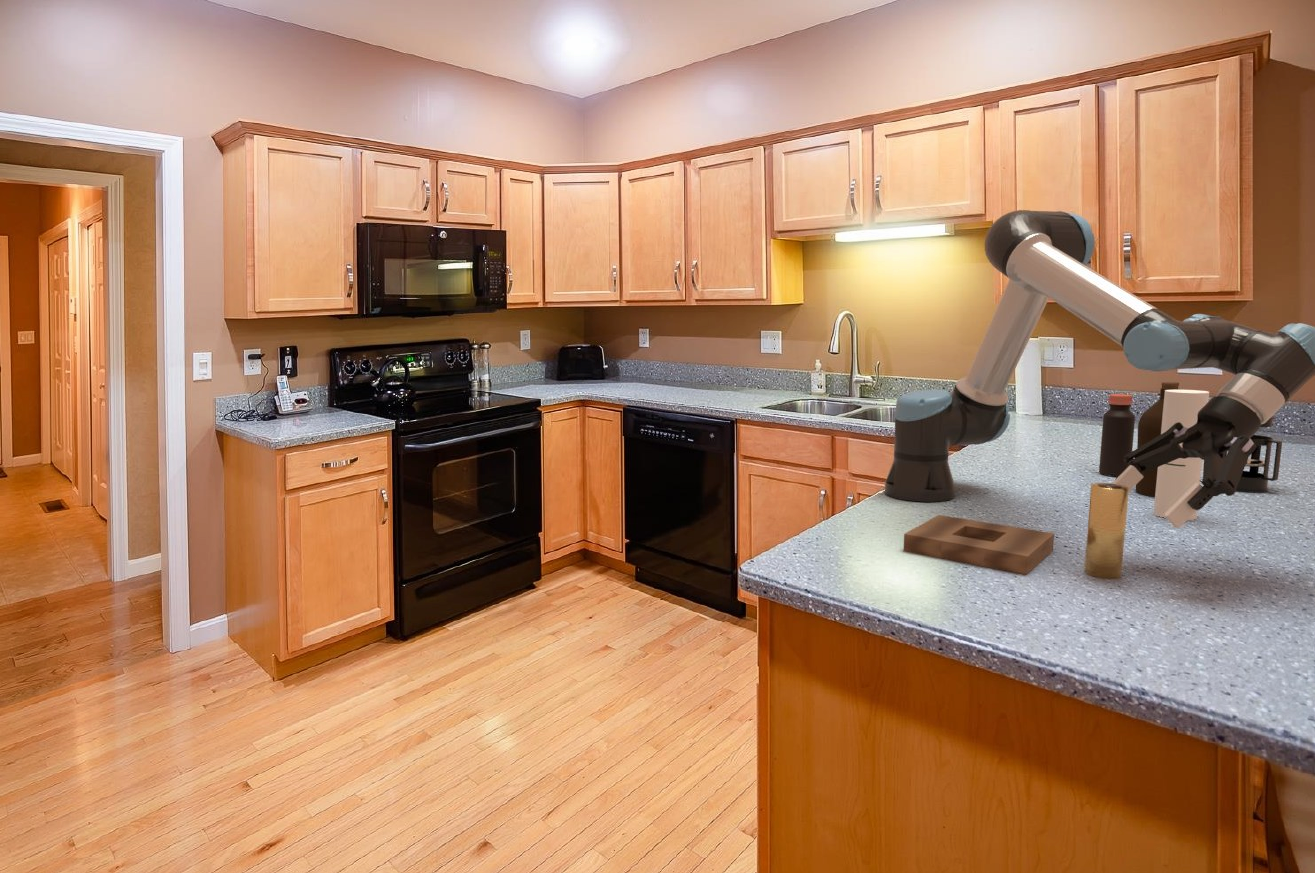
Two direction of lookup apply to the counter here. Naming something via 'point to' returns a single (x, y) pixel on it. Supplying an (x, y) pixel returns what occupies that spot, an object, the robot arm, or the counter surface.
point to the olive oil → (1152, 437)
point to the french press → (1260, 464)
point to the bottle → (1116, 435)
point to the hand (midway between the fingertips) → (1137, 510)
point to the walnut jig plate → (980, 543)
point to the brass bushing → (1106, 530)
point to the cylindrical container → (1187, 471)
